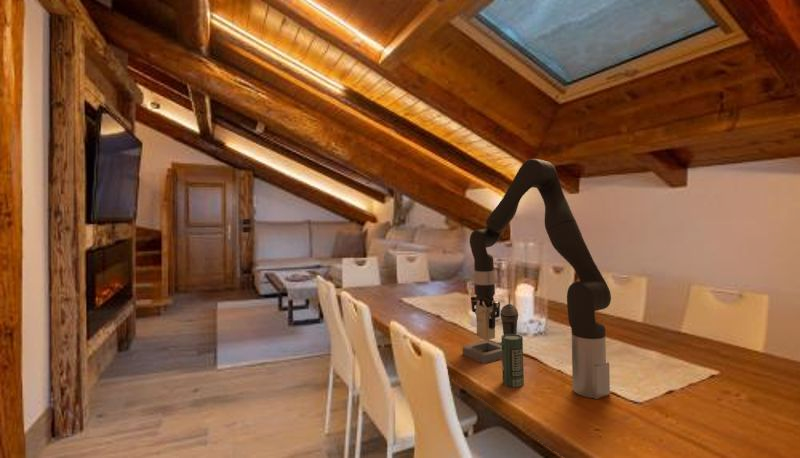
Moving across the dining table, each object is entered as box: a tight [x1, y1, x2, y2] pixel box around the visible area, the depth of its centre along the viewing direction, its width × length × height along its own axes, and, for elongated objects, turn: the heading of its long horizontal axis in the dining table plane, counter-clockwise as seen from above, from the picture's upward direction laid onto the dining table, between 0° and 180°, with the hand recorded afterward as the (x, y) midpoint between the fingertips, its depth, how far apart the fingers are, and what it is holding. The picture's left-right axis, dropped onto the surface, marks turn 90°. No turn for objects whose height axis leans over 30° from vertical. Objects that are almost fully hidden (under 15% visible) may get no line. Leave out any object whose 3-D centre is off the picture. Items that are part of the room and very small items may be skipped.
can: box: [500, 334, 525, 389], centre depth 133 cm, size 6×6×15 cm
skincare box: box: [476, 305, 496, 341], centre depth 159 cm, size 6×4×12 cm
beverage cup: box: [500, 294, 519, 335], centre depth 173 cm, size 7×7×20 cm
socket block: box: [462, 339, 502, 365], centre depth 159 cm, size 12×13×3 cm
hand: (485, 326), depth 159 cm, fingers closed on skincare box, 6 cm apart
